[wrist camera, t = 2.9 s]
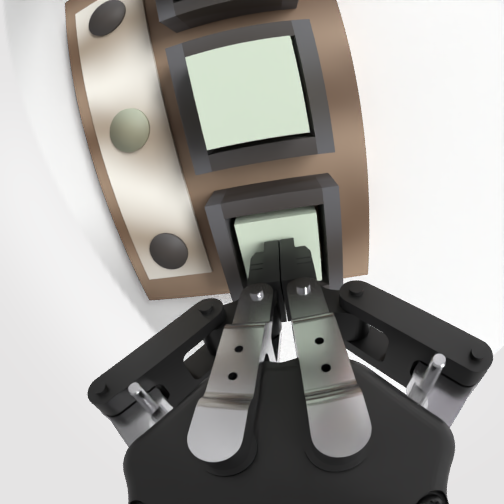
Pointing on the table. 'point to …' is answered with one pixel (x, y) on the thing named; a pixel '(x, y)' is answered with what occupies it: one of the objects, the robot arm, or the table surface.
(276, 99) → the button middle
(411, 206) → the table surface
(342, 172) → the button panel
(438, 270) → the table surface
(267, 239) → the button
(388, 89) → the table surface
